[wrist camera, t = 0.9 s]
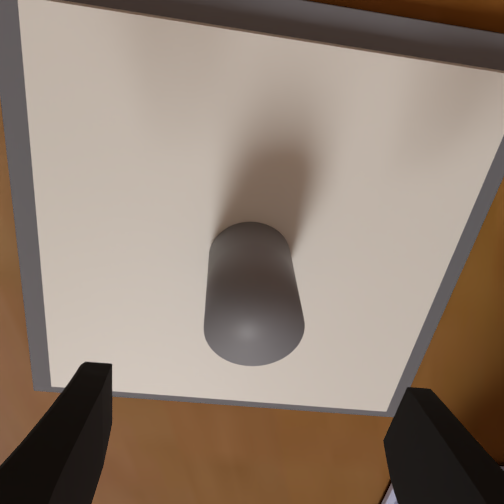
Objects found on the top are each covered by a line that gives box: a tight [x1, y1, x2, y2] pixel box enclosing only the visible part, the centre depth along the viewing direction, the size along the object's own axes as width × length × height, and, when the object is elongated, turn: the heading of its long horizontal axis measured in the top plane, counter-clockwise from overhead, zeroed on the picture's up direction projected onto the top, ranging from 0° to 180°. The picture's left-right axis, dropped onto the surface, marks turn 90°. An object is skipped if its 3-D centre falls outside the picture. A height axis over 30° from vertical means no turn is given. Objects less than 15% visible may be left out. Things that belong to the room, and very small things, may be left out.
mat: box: [0, 0, 504, 417], centre depth 18 cm, size 17×17×1 cm
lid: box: [18, 0, 504, 412], centre depth 16 cm, size 15×15×5 cm
